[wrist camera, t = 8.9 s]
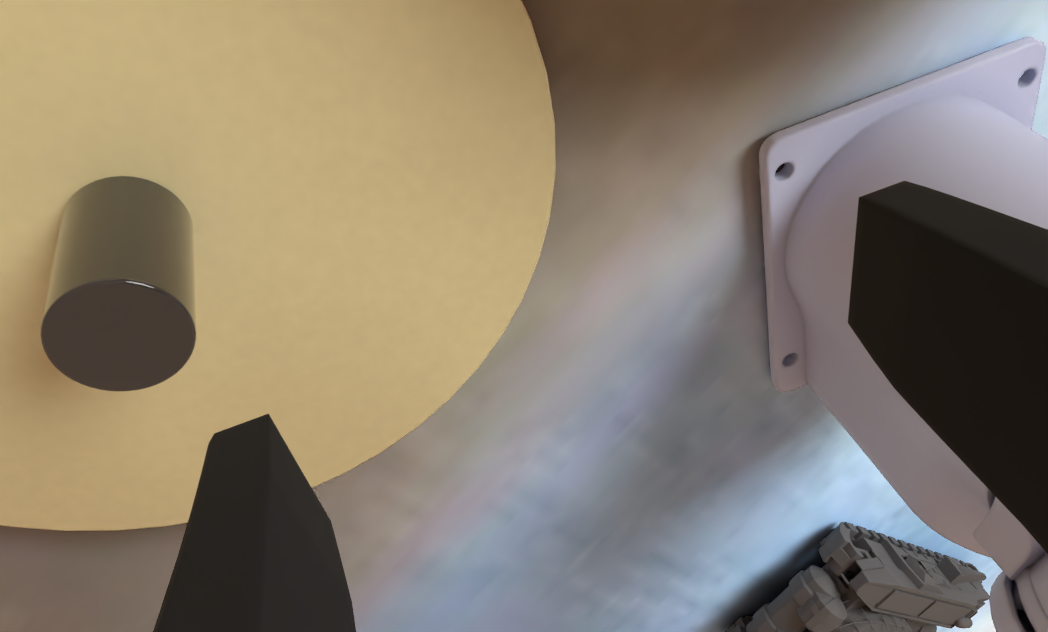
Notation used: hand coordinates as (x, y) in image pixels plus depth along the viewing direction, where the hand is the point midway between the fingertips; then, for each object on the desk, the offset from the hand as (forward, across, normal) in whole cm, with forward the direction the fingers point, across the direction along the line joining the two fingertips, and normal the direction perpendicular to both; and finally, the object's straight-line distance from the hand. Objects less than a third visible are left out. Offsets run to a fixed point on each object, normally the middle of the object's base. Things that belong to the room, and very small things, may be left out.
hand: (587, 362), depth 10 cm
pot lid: (+10, +6, +2) cm, 12 cm away
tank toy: (+10, -12, +30) cm, 34 cm away
